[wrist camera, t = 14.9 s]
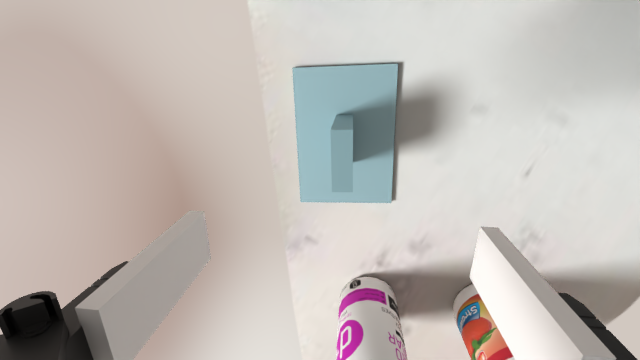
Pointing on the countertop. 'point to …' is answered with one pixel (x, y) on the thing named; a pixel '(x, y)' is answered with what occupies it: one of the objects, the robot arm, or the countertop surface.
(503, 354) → the fruit juice
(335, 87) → the lid
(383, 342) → the supplement can
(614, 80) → the countertop surface
